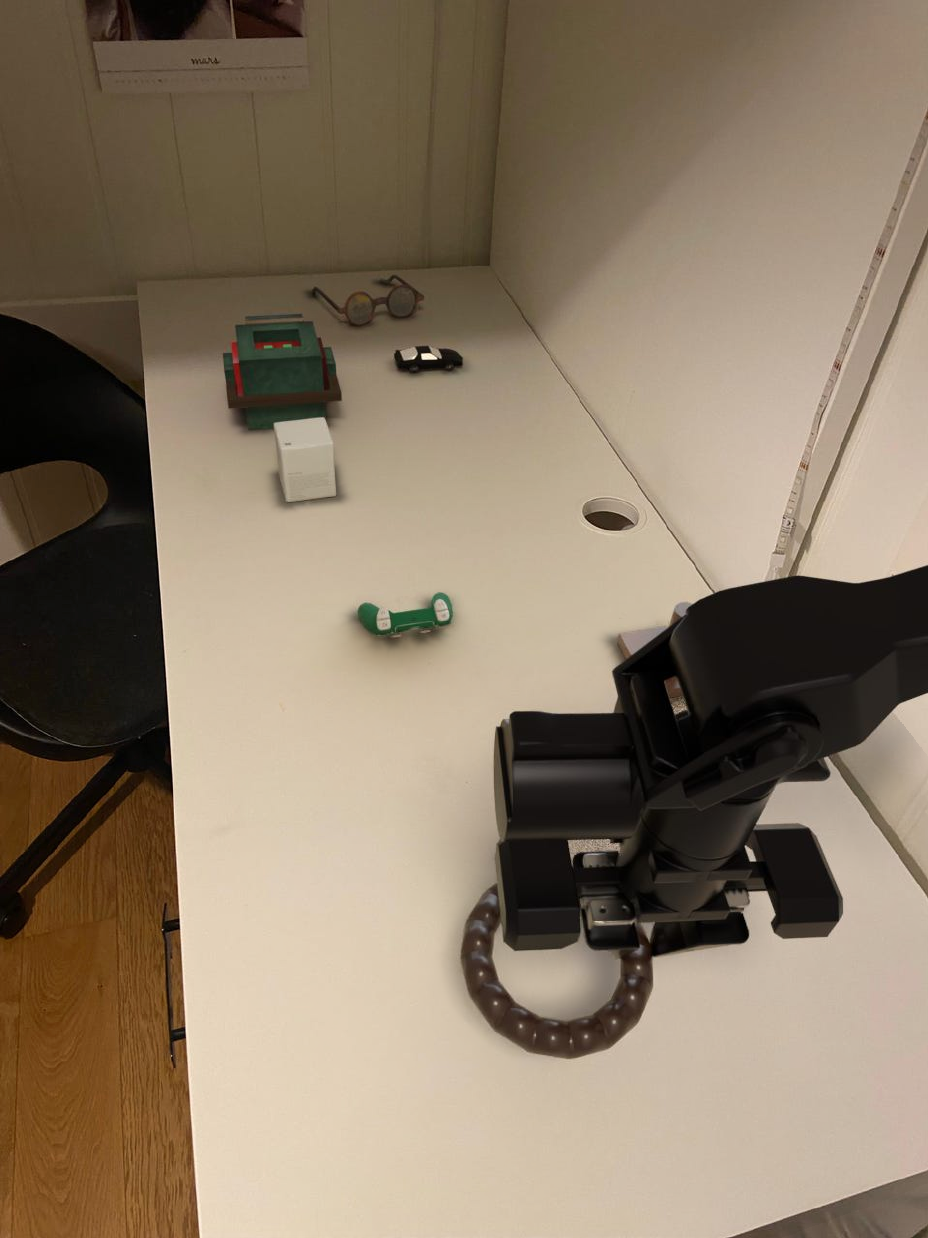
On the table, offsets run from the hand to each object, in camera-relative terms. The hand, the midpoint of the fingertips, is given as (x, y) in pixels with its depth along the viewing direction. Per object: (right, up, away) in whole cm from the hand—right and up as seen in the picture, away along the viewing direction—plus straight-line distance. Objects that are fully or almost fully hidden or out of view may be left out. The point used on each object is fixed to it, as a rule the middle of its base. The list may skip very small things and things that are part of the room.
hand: (635, 950), depth 53 cm
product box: (-30, +37, +47) cm, 67 cm away
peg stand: (+9, +17, +29) cm, 34 cm away
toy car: (-16, +58, +71) cm, 93 cm away
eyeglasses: (-27, +73, +86) cm, 116 cm away
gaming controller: (-16, +20, +31) cm, 40 cm away
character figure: (-36, +51, +62) cm, 88 cm away
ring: (-5, 0, 0) cm, 5 cm away
